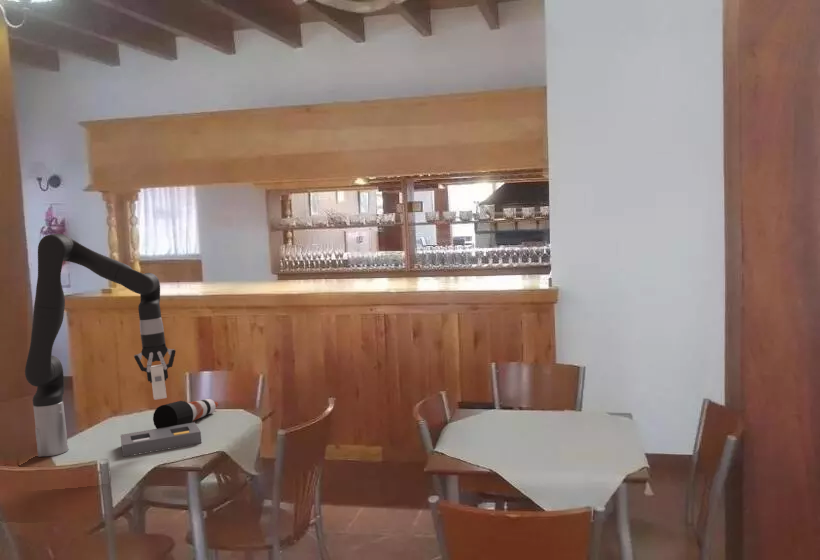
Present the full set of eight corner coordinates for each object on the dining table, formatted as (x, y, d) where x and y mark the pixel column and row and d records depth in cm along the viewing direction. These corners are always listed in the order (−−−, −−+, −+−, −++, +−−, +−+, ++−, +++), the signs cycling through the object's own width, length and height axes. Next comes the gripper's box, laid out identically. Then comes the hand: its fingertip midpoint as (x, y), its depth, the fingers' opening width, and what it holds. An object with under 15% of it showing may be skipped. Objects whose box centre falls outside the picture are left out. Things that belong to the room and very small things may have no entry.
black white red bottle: (221, 421, 296) (230, 399, 295) (170, 438, 263) (181, 413, 262) (201, 409, 299) (210, 387, 297) (149, 424, 266) (159, 399, 265)
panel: (123, 457, 242) (122, 444, 241) (121, 446, 254) (120, 434, 254) (201, 443, 252) (200, 431, 251) (195, 433, 264) (194, 421, 264)
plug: (154, 400, 248) (150, 368, 247) (153, 397, 252) (149, 366, 252) (167, 398, 250) (163, 366, 249) (165, 395, 254) (161, 364, 253)
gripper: (130, 336, 243) (136, 386, 245) (175, 329, 249) (181, 379, 250) (129, 333, 250) (135, 383, 252) (172, 327, 256) (178, 376, 257)
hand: (158, 381), depth 251 cm, fingers closed on plug, 4 cm apart
